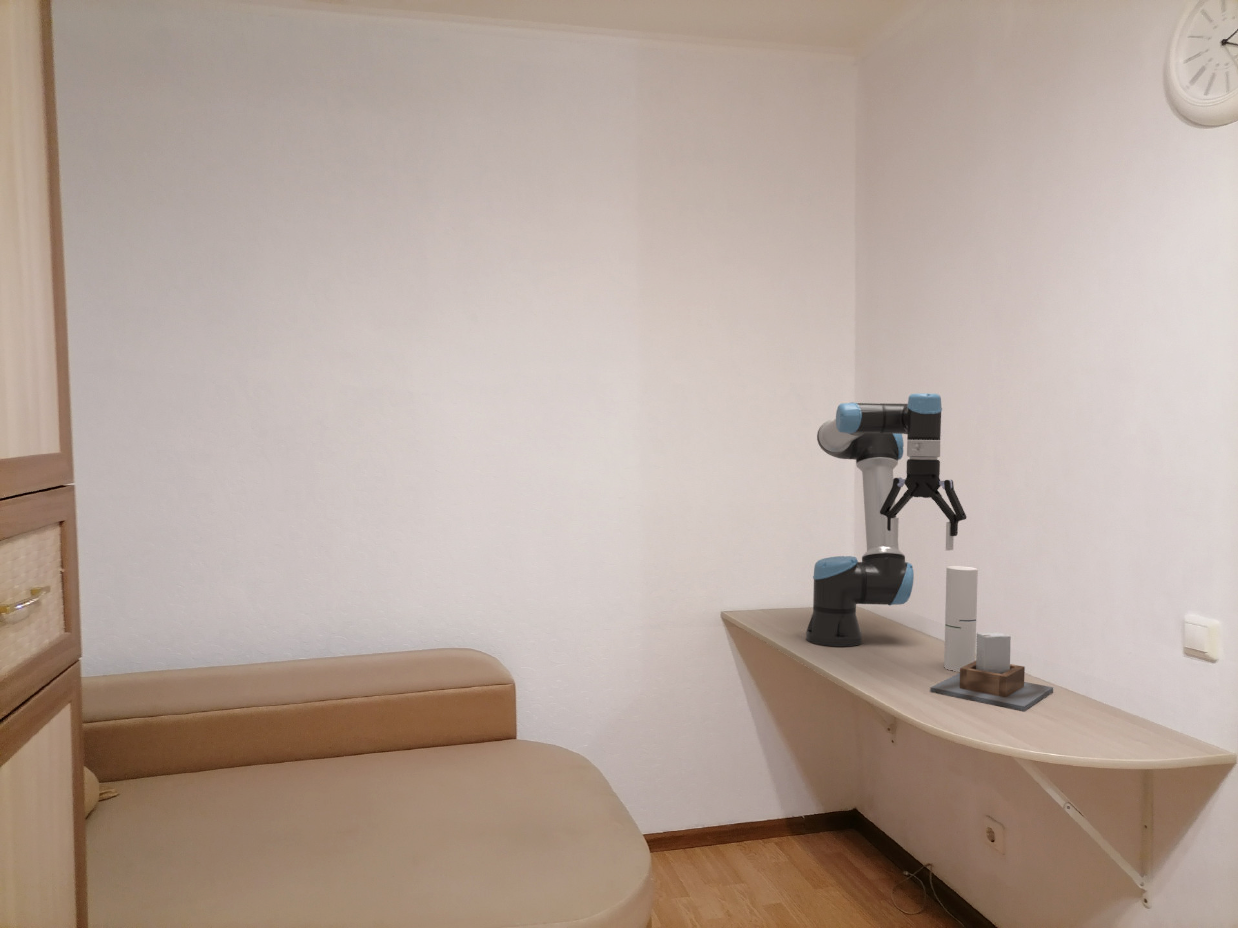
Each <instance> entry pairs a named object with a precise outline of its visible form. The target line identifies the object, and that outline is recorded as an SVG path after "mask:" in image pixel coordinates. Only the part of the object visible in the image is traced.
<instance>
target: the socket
mask: <svg viewBox="0 0 1238 928" xmlns="http://www.w3.org/2000/svg"><path fill="white" fill-rule="evenodd" d="M1025 670H1026V668H1025V665H1023V666H1022V665H1018V664H1013V663H1010V670H1008V671H1007V672H1005V673H1003V674H998V673H993V672H987V671H982V670H976V660H975V661H974V662H972V663H970V664H968V665H966V666H964V667H962V668H960V672H957V674H955V675H953V676H951V677H949V678H946V679H945V680H943V681H940V682H938V683H937V684H934V685H932V686H931V687H930V689H929V691H931V692H930V693H934V692H937V693H936V694H939V693H940V695H943V694H946V695H945V696H948V695H949V696H948V697H953V696H955V698H959V699H962V700H968V699H969V701H973V702H976V703H977V702H979V703H982V704H983V703H984V704H987V705H988V704H989V705H992V706H997V707H1003V708H1006V709H1012V710H1016V711H1021V712H1025V711H1027V710H1028V709H1030V708H1031V707H1032V706H1034V705H1036V704H1038V703H1039V702H1040V701H1041V700H1043V699H1045V698H1046V697H1048V696H1049V695H1050V694H1052V693H1053V692H1054V687H1053V686H1048V685H1043V684H1038V683H1037V684H1036V683H1032V682H1028V681H1025V675H1026V674H1025Z"/></svg>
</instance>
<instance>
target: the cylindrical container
mask: <svg viewBox="0 0 1238 928" xmlns="http://www.w3.org/2000/svg"><path fill="white" fill-rule="evenodd" d="M978 571H979V569H978V568H976V567H972V566H966V565H964V566H963V565H950V566H949V565H948V566H946V571H945V572H946V573H945V574H946V575H945V576H946V577H945V579H946V580H945V611H944V612H945V614H944V615H945V617H944V619H945V620H944V621H945V622H944V623H945V624H944V651H943V655H944V656H943V658H944V659H943V668H944V667H945V668H944V669H945V670H947V669H948V670H947V671H950V670H953V671H952V672H954V671H956V673H960V668H962V667H964V666H966V665H968V664H970V663H972V662H974V661H976V646H977V615H978V613H977V609H978V608H977V607H978V574H979V573H978Z"/></svg>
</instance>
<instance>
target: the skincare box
mask: <svg viewBox="0 0 1238 928" xmlns="http://www.w3.org/2000/svg"><path fill="white" fill-rule="evenodd" d="M975 661H976V670H982V671H987V672H993V673H998V674H1003V673H1005V672H1007V671H1008V670H1010V664H1011V635H1009V634H1005V633H1003V632H1001V631H1000V632H997V631H995V632H976V653H975Z"/></svg>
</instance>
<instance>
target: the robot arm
mask: <svg viewBox="0 0 1238 928" xmlns="http://www.w3.org/2000/svg"><path fill="white" fill-rule="evenodd" d="M942 411H943V408H942V398H941V395H939V394H937V393H911V394H910V395H908V398H907V403H872V402H871V403H869V402H868V403H867V402H865V403H863V402H853V401H851V402H844V403H843V402H842V403H840V404H839V405H838V406H837V409H836V412H835V418H832V419H829V420H827V421H825V422H824V423H822V425H820V426H819V428H818V430H817V433H816V440H817V444H818V445H819V447H820V449H821V450H822V451H823V452H824V453H826V454H827V455H829V456H831V457H834V458H837V459H842V460H855V462H856V468H858V470H860V471H861V472H862V475H861V476H862V490H863V491H862V492H863V504H864V506H863V507H864V522H865V523H864V525H865V538H866V539H865V540H866V551H865V553H864V554H863V555H862V556H861V561H858V558H857V557H855V556H852V555H846V556H844V555H840V556H831V557H824V558H822V559H819V560H817V561H816V562H815V563H814V566H813V576H812V578H813V597H812V598H813V599H812V600H813V601H812V604H813V605H812V606H813V607H812V608H813V609H812V613H811V617H810V620H809V622H808V626H807V628H806V632H805V634H806V635H805V639H806V641H808V642H809V643H813V644H815V645H821V646H827V647H843V648H844V647H854V646H858V645H862V642H863V634H862V631H861V626H860V624H859V620H858V617H857V605H888V606H892V605H893V606H894V605H895V606H896V605H904V604H905V603H907V602H908V600H909V599H910V597H911V594H912V591H913V586H914V580H915V579H914V578H915V577H914V575H915V573H914V569H913V564H912V563H910V562H907V561H906V556H905V554H904V553H903V552H901V550H900V549H899V517H897V515H898V514H899V513H900V512H901V510H902V509H903V508H904V507H905V506H906V504H908V503H909V502H910V500H911V499H912V498H913V497H914V498H924V499H929V498H930V499H931V500H933V501H934V503H935V504H936V505H937V506H938V508H939V509H940V510H941V512H942V513H943V515H944V516H945V517H946V518H947V520H949V521H947V522H946V523H945V524H946V525H945V551H954V538H955V537H957V536H958V531H959V530H958V527H959V526H958V525H959V522H960V521H964V520H967V514H966V513H965V510H964V508H963V505H962V504H961V501H960V499H959V498H958V495H957V493H956V491H955V489H954V480H953V479H945V480H941V479H940V475H941V474H940V473H941V470H940V469H941V468H940V467H941V461H940V460H939V459H938V458H940V457H941V437H942V435H941V431H942V430H941V428H942ZM903 435H907V442H906V443H907V445H906V446H907V447H906V456H907V457H909V459H908V458H907V460H906V469H905V470H906V471H905V473H906V478H902V477H894V469H895V468H896V467H897V466H898V464H899V461H900V460H902V458H903V456H904V445H905V444H904V437H903ZM903 486H906V488H907V490H905V492H904V493H903V494H902V496H901V497H900V498H899V500H897V498H898V495H899V493H900V491H901V489H902V488H903ZM940 487H942V489H943V490H944V492H945V495H946V496H947V498H948V501H949V503H950V505H951V507H952V508H951V507H950V506H949V504H948V503H947V501H946V500H945V499H944V498H943V495H942V494H941V493H940V491H939V489H940ZM896 500H897V502H896Z"/></svg>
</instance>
